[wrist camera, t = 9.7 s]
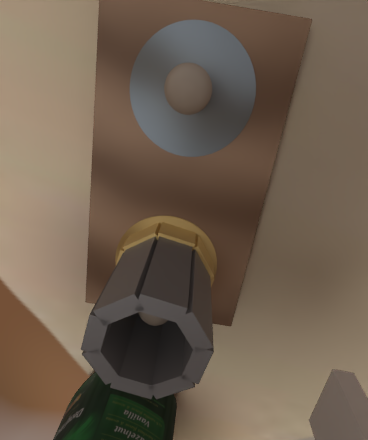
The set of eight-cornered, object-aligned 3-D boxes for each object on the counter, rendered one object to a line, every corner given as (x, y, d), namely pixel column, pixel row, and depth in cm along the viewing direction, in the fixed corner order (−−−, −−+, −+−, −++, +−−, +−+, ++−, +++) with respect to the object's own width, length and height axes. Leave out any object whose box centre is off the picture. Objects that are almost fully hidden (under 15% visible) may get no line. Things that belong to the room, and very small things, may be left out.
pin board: (109, -6, 15) (44, -83, 9) (302, 26, 15) (371, -28, 9) (93, 289, 22) (48, 364, 16) (229, 312, 22) (239, 396, 16)
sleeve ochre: (185, 209, 18) (174, 271, 11) (225, 284, 19) (236, 377, 13) (104, 247, 19) (52, 322, 12) (148, 314, 20) (123, 413, 14)
